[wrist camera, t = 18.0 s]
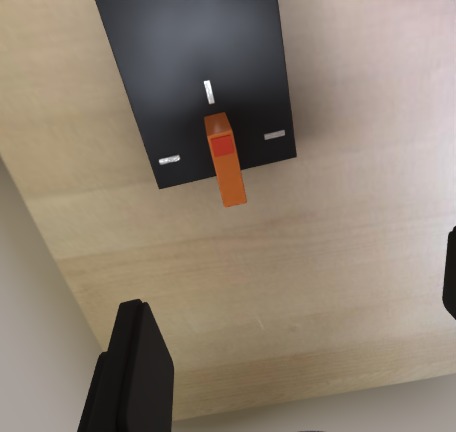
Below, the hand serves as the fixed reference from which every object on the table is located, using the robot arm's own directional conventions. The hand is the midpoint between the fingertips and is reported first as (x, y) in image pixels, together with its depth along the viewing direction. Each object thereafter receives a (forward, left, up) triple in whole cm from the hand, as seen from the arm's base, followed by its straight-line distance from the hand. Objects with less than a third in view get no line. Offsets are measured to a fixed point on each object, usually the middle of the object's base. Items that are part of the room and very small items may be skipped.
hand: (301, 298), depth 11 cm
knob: (0, +1, -15) cm, 15 cm away
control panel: (+2, +3, -18) cm, 18 cm away
